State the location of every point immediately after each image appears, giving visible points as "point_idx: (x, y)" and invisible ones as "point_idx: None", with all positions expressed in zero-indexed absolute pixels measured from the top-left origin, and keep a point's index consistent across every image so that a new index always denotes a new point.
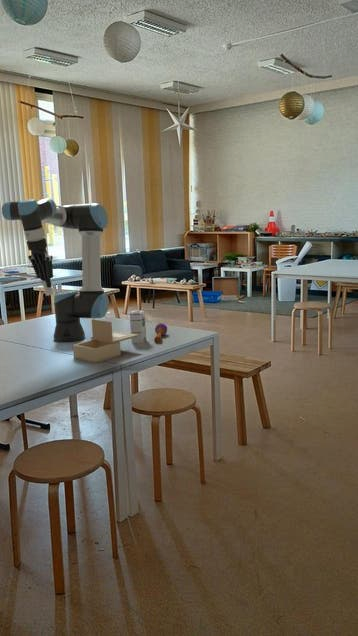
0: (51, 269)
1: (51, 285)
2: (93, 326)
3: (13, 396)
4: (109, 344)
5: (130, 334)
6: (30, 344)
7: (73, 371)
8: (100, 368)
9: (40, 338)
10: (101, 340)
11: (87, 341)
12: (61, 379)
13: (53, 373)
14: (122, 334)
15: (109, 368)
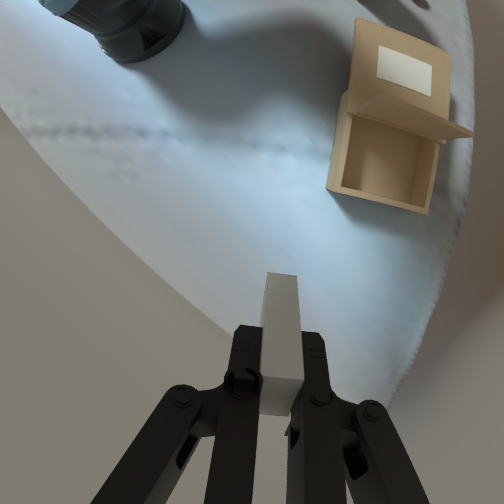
0: (411, 491)
1: (323, 341)
2: (377, 107)
3: None
4: (435, 153)
5: (431, 52)
6: (86, 120)
7: (396, 285)
8: (439, 242)
9: (70, 68)
10: (397, 127)
11: (349, 134)
12: (400, 336)
13: (361, 314)
14: (411, 53)
15: (455, 235)
